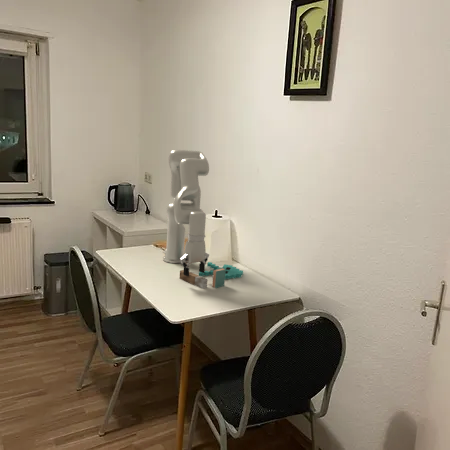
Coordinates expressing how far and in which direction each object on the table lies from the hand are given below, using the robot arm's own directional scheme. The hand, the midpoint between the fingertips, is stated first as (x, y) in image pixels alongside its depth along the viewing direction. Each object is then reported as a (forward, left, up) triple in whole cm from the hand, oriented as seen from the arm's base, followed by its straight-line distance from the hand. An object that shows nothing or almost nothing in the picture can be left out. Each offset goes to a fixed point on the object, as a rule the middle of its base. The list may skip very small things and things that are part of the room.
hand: (193, 273), depth 213 cm
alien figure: (-4, +23, -5) cm, 24 cm away
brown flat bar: (-1, 0, -5) cm, 5 cm away
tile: (+9, +7, -5) cm, 13 cm away
